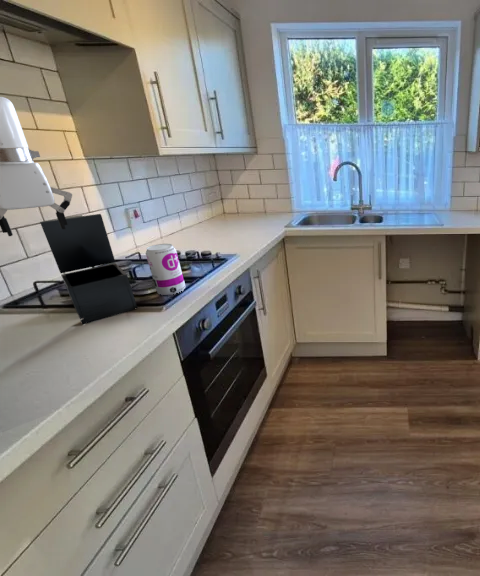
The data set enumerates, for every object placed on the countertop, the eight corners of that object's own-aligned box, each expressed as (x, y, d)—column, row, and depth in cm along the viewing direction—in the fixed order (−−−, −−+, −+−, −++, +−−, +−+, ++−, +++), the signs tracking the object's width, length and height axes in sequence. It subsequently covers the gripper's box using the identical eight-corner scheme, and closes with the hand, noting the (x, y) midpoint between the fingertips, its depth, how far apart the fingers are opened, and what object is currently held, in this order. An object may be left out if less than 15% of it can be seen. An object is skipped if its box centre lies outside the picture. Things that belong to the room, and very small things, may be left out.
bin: (138, 308, 106) (126, 274, 101) (82, 324, 97) (67, 288, 93) (126, 294, 115) (115, 262, 111) (74, 308, 107) (60, 274, 102)
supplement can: (191, 288, 119) (180, 244, 113) (168, 298, 112) (155, 252, 106) (175, 284, 122) (163, 242, 116) (151, 294, 115) (137, 249, 109)
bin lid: (101, 214, 102) (96, 208, 105) (40, 222, 94) (37, 215, 97) (115, 262, 110) (110, 255, 114) (60, 273, 102) (57, 265, 105)
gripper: (57, 155, 89) (80, 224, 96) (-46, 158, 78) (-13, 235, 85) (60, 156, 85) (84, 228, 91) (-49, 159, 73) (-13, 241, 80)
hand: (37, 231), depth 88 cm, fingers open, 9 cm apart
